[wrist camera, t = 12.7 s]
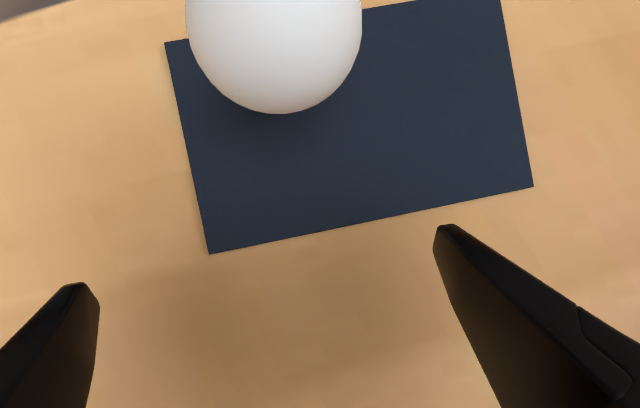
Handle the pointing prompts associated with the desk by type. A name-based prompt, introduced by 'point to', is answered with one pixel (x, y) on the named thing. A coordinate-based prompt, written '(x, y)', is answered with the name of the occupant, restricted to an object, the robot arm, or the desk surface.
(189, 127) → the felt mat
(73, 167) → the desk surface
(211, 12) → the white rounded smooth part
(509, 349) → the robot arm
